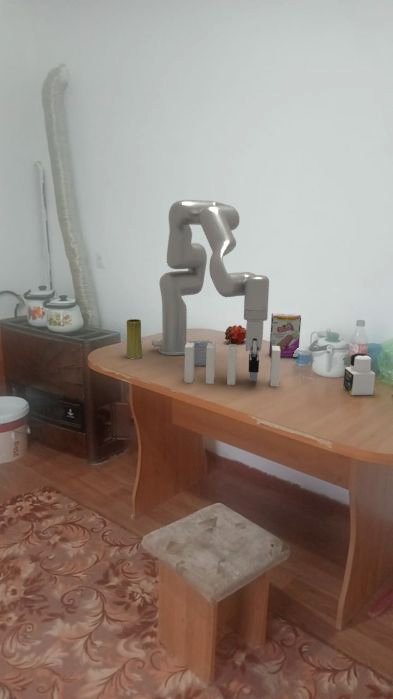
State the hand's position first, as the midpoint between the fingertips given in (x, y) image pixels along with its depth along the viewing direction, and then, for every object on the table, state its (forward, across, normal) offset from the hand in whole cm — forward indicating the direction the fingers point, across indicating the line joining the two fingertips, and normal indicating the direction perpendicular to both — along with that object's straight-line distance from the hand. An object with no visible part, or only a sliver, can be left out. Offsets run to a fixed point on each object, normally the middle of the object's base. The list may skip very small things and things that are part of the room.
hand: (253, 368), depth 169 cm
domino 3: (+5, 0, -7) cm, 9 cm away
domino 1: (+5, 0, -21) cm, 22 cm away
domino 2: (+5, 0, -14) cm, 15 cm away
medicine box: (+5, -18, -19) cm, 27 cm away
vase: (+5, -24, -45) cm, 51 cm away
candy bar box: (+5, -34, +12) cm, 36 cm away
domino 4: (+3, 0, 0) cm, 3 cm away
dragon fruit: (+5, -52, -7) cm, 53 cm away
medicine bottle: (+5, +4, +33) cm, 34 cm away
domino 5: (+5, 0, +7) cm, 8 cm away
